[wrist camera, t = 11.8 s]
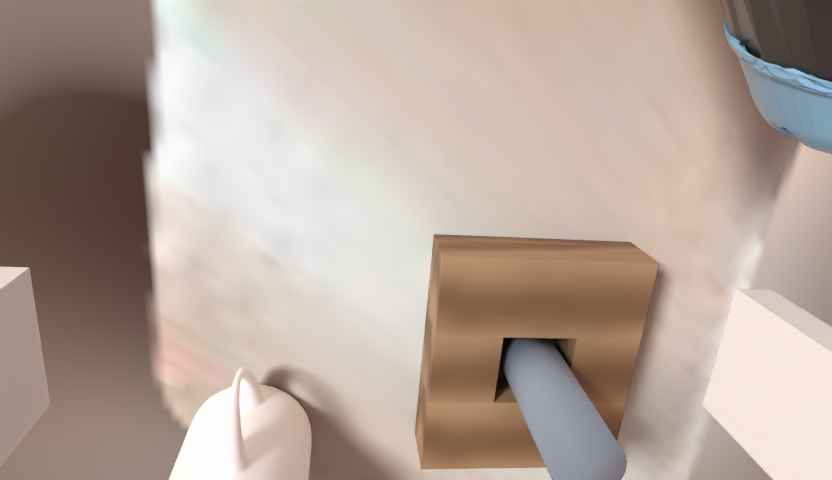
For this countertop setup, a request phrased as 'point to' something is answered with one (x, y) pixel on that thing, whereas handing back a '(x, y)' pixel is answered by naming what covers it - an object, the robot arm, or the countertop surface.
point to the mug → (247, 436)
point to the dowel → (560, 413)
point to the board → (523, 318)
